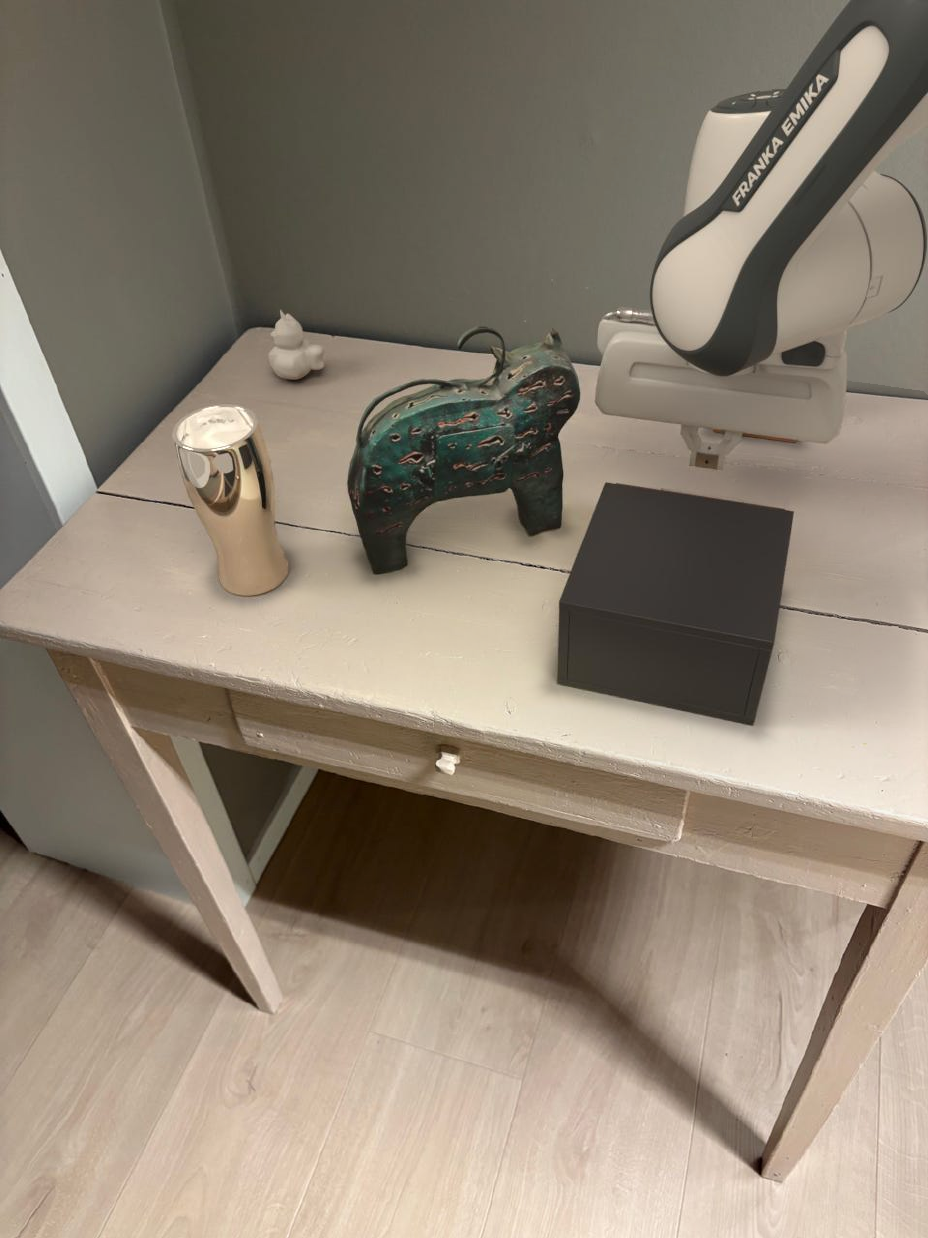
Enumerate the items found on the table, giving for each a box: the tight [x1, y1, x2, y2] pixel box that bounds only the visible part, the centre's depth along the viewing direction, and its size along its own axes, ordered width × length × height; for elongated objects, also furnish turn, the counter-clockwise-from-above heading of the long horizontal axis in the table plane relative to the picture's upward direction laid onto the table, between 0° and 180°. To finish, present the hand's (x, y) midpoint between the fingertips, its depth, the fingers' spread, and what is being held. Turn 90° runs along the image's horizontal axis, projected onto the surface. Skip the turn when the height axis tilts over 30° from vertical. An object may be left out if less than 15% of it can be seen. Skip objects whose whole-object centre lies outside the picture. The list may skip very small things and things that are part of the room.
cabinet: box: [556, 482, 795, 726], centre depth 73 cm, size 15×15×9 cm
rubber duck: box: [267, 308, 325, 381], centre depth 106 cm, size 5×7×8 cm
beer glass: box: [171, 403, 290, 597], centre depth 79 cm, size 7×7×15 cm
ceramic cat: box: [346, 325, 581, 575], centre depth 79 cm, size 20×6×20 cm, turn 108°
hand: (706, 464), depth 85 cm, fingers closed
